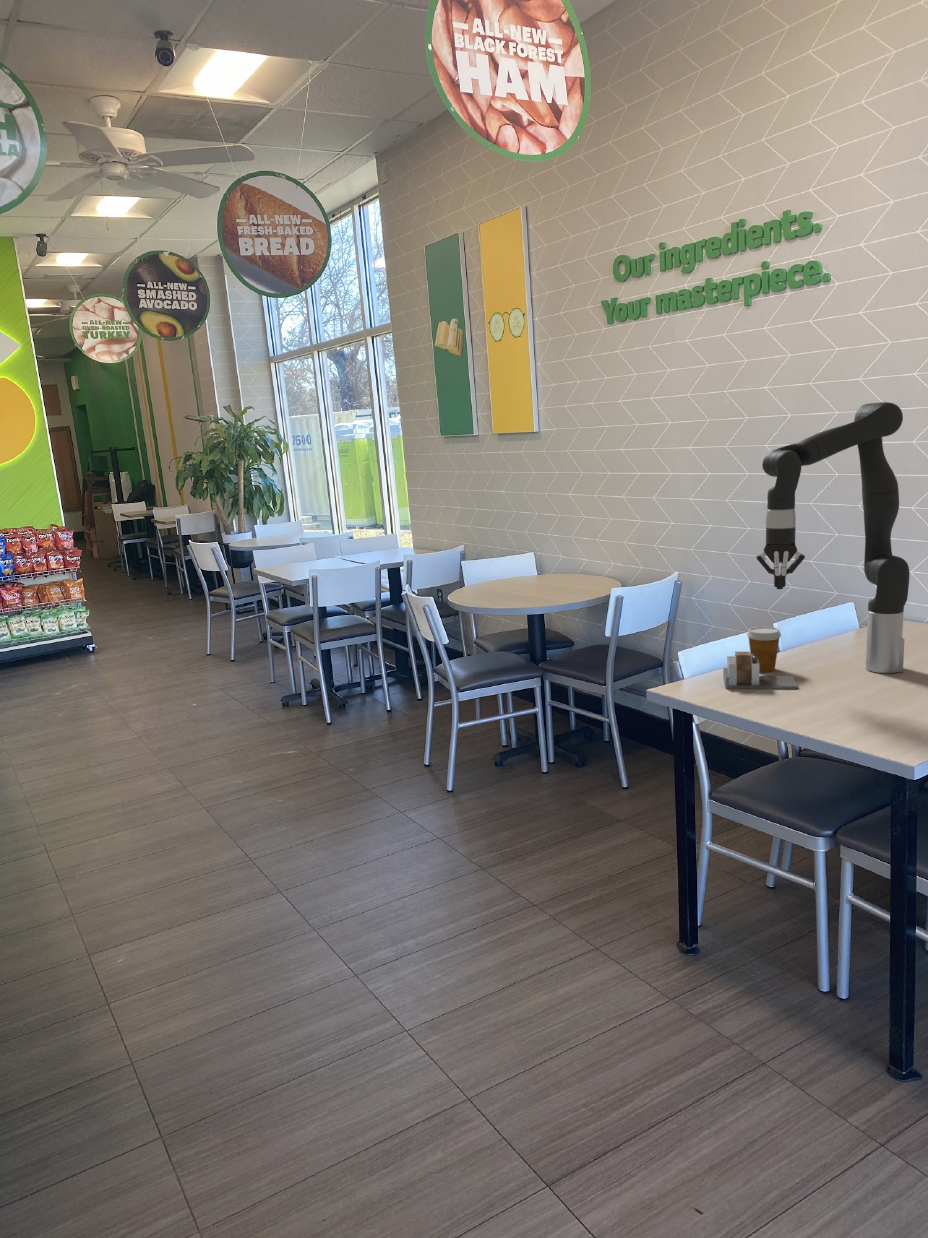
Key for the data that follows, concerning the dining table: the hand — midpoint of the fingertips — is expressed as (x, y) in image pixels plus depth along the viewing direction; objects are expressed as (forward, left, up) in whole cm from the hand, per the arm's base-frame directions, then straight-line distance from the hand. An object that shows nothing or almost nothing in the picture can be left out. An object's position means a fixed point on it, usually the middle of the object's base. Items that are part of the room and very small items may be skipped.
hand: (779, 588), depth 246 cm
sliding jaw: (+6, 0, -27) cm, 28 cm away
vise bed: (+5, 0, -27) cm, 27 cm away
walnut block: (+10, 0, -26) cm, 28 cm away
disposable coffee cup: (+2, -15, -27) cm, 31 cm away
